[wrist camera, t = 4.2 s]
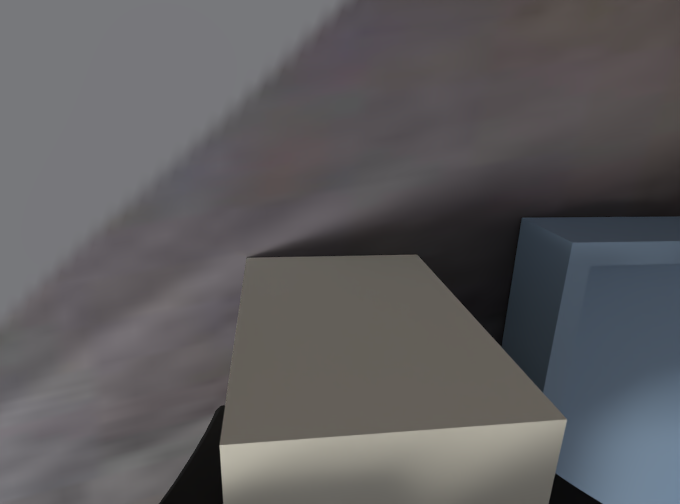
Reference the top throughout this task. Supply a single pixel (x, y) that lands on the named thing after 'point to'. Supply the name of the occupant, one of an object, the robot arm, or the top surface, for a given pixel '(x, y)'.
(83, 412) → the top surface
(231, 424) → the block
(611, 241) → the tray
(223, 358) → the top surface
